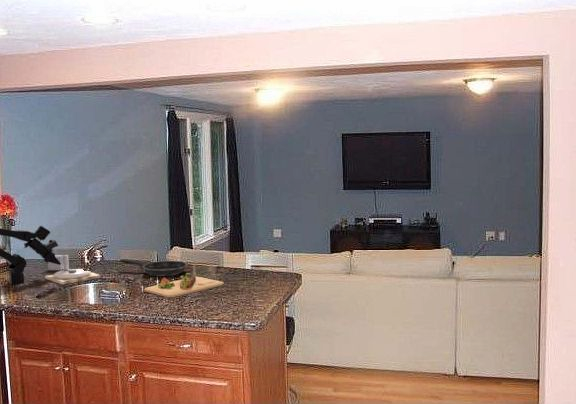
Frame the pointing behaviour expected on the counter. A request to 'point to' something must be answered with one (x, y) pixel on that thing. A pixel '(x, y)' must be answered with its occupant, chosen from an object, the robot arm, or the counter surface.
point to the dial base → (66, 281)
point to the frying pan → (159, 267)
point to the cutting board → (182, 286)
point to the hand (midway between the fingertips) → (60, 264)
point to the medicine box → (56, 266)
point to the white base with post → (70, 271)
